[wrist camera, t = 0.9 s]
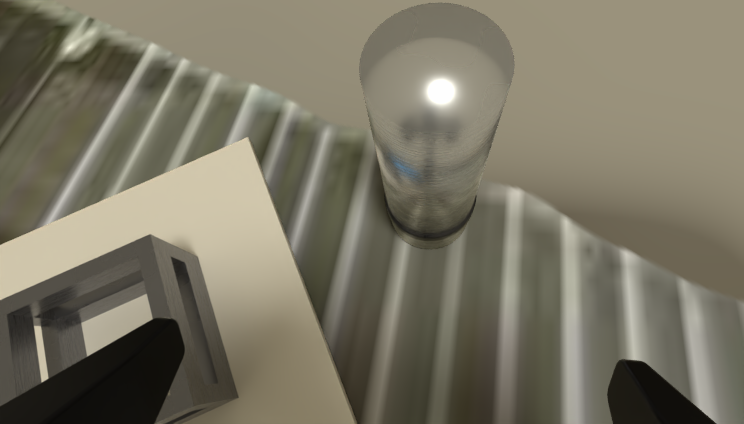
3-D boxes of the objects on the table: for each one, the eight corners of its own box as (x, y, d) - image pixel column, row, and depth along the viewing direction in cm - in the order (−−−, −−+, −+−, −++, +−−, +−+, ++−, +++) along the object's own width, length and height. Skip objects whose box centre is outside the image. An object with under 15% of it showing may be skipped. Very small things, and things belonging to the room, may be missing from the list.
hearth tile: (377, 478, 21) (376, 481, 20) (20, 647, 20) (8, 655, 19) (251, 141, 27) (247, 137, 27) (-19, 259, 27) (-28, 257, 26)
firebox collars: (238, 397, 22) (193, 405, 18) (90, 465, 22) (7, 491, 17) (197, 256, 25) (150, 234, 20) (65, 315, 24) (-12, 305, 20)
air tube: (485, 230, 24) (549, 92, 12) (409, 264, 24) (395, 160, 12) (447, 162, 26) (469, -22, 13) (375, 194, 25) (332, 37, 13)
